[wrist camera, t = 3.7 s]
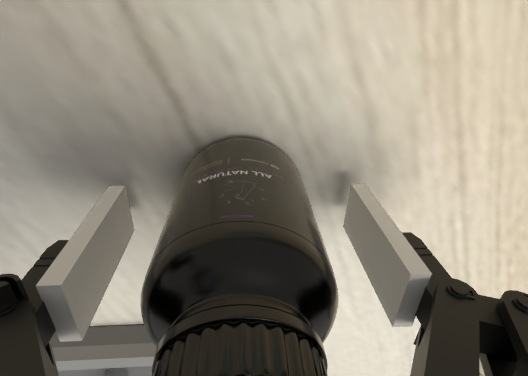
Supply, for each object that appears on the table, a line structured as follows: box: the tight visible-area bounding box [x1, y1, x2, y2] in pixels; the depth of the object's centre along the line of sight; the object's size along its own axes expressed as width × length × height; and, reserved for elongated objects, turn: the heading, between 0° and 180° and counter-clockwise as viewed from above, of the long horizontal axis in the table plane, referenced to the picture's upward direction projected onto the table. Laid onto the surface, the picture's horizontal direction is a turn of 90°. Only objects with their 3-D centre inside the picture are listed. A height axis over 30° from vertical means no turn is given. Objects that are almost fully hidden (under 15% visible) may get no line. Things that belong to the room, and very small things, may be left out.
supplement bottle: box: [141, 138, 338, 376], centre depth 13 cm, size 7×7×12 cm
